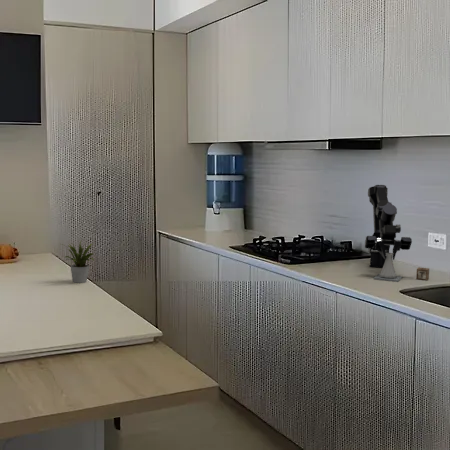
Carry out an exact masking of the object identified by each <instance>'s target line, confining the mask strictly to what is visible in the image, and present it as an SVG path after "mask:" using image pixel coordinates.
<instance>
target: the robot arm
mask: <svg viewBox="0 0 450 450" xmlns="http://www.w3.org/2000/svg"><path fill="white" fill-rule="evenodd" d="M388 189H389V188H388V187H387V185H385V184H374V186H370V187H369V188H368V191H367V197H369V203H370V204H371V206H372V213H373V234H372V235H367V236H365V241H364V248H365V249H368V251H367V252H368V253H369V254H370V259H369V260H370V261H369V263H370V264H369V265H368V267H371V268H383V266H384V263H385V260H386V253H390V248H391V246H393V248H392V253H393V255H392V261H395V258H396V254H397V252H399V251H401V250H402V251H403V250H404V251H405V250H407V251H408V250H410V249H411V246H412V242H413V241H412V238H411V237H410V236H409V237H408V236H402V237H401V239H400V240H399V239H396V237H397V234H398V233H399V234H400V233H401V231H402V227H401V224H394V221H395V219H396V215H397V214H398V208H397V207H396V206H395V205H393V204H392V202H390V201H389V199H388V191H389V190H388Z"/></svg>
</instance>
